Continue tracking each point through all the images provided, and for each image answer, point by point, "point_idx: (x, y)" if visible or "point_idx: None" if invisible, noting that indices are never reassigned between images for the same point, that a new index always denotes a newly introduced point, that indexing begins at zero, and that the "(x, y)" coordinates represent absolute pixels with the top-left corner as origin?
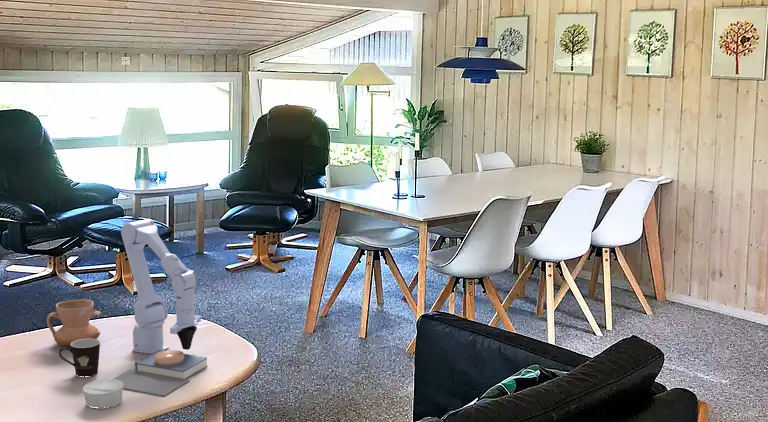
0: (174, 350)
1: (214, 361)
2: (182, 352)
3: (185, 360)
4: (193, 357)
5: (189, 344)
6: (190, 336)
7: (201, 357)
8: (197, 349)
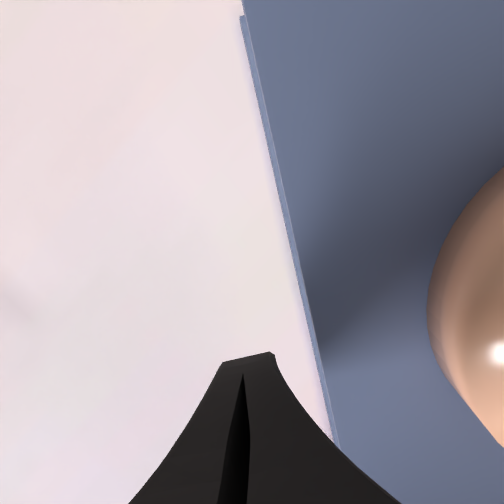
0: (482, 402)
1: (81, 79)
2: (500, 264)
3: (495, 152)
4: (351, 155)
5: (255, 385)
6: (261, 488)
7: (289, 60)
8: (6, 438)
